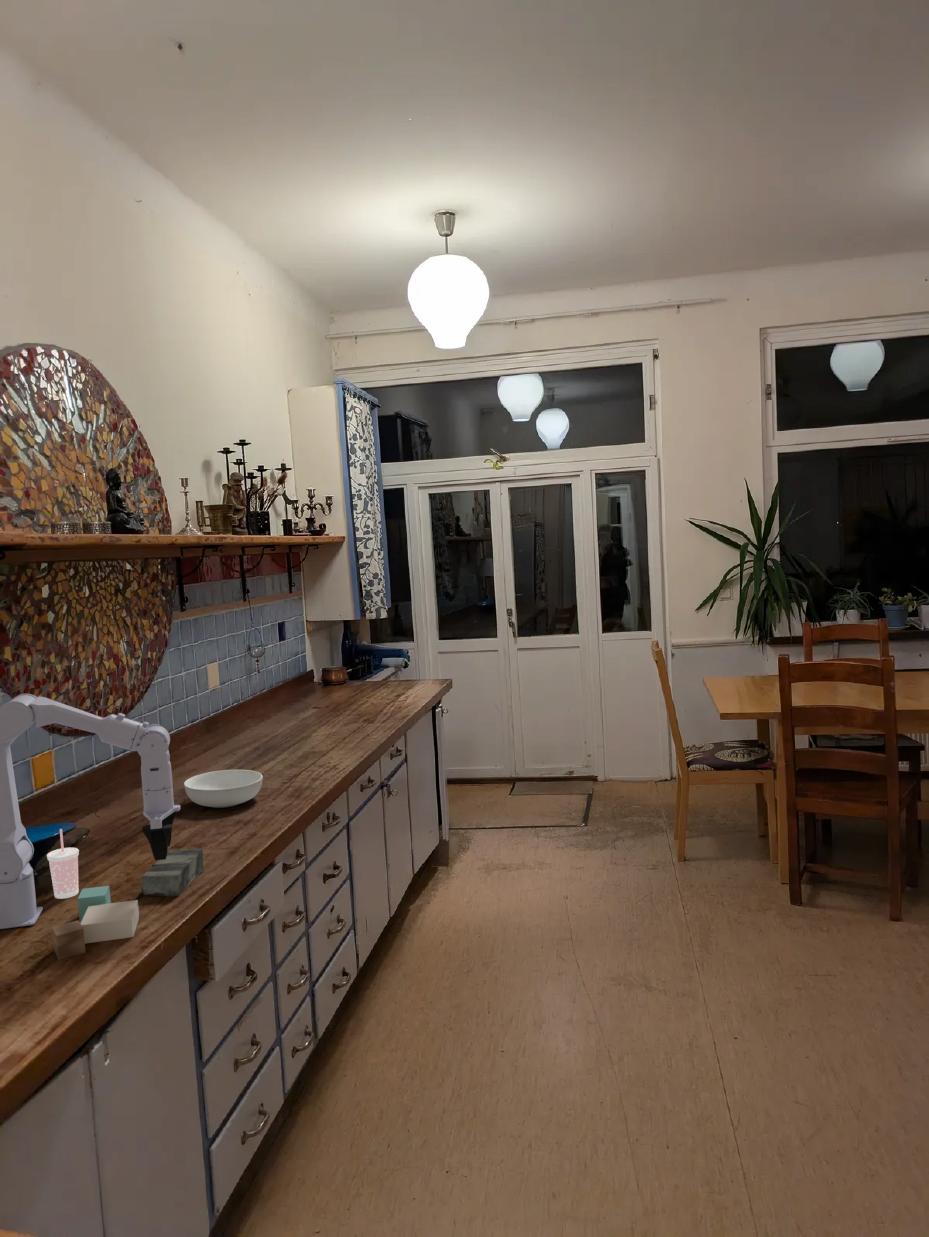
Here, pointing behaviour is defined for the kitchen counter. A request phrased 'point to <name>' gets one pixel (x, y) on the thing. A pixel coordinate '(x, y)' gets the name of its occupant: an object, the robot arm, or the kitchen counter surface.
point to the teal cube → (92, 898)
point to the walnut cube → (68, 939)
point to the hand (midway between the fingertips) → (162, 852)
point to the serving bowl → (223, 787)
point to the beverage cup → (64, 870)
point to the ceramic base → (110, 921)
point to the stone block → (173, 873)
